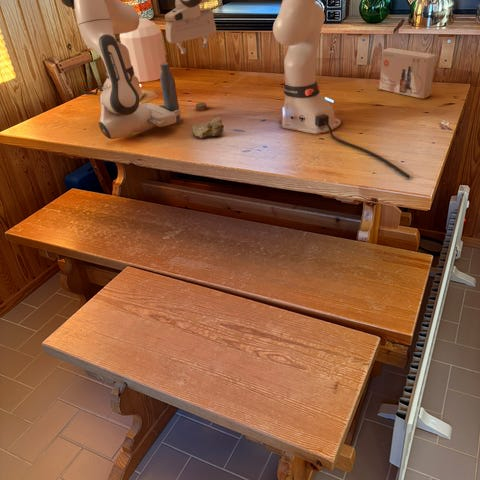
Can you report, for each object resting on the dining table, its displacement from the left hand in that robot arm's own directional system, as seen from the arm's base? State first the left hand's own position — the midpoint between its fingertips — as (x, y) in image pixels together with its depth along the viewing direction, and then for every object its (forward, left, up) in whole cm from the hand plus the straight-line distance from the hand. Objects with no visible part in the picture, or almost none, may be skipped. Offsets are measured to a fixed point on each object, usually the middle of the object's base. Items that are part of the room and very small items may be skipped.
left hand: (174, 108), depth 181 cm
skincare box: (+47, +81, -5) cm, 93 cm away
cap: (-4, +15, -3) cm, 16 cm away
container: (-71, +25, -5) cm, 75 cm away
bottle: (0, -1, -5) cm, 5 cm away
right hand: (-4, +15, +18) cm, 24 cm away
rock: (+22, +1, -5) cm, 22 cm away
